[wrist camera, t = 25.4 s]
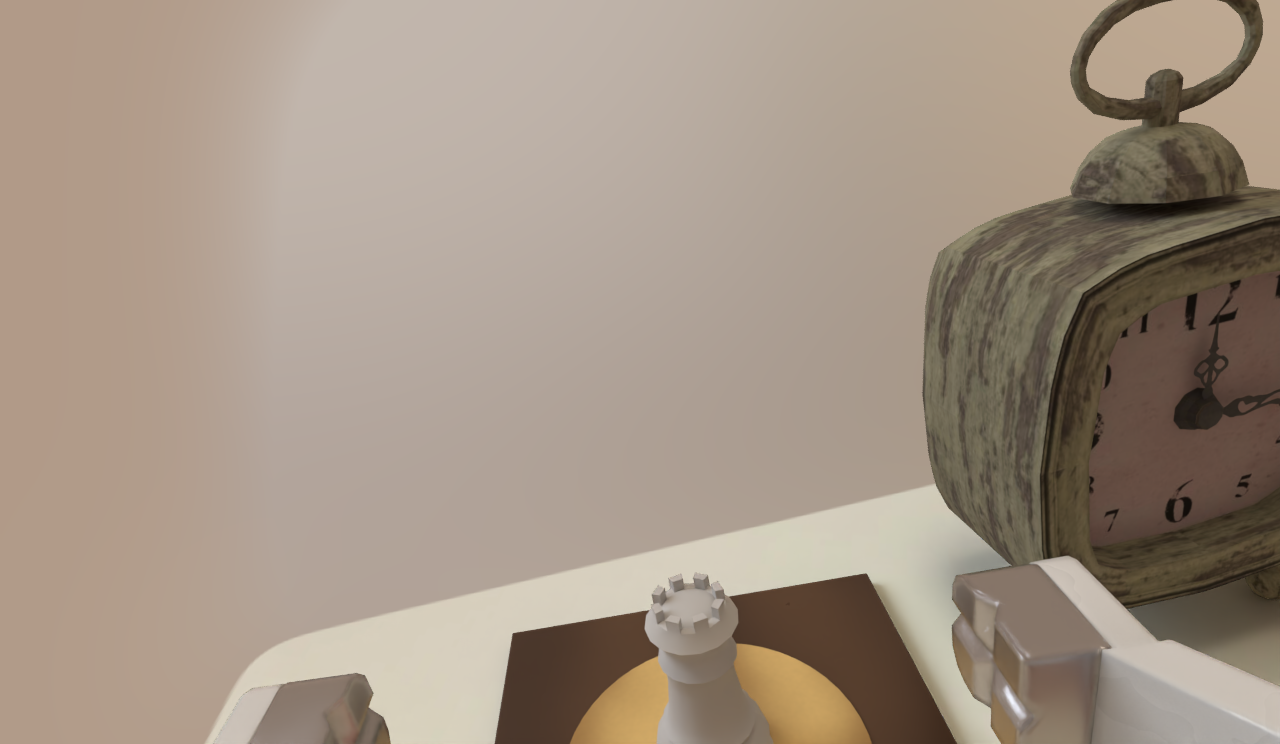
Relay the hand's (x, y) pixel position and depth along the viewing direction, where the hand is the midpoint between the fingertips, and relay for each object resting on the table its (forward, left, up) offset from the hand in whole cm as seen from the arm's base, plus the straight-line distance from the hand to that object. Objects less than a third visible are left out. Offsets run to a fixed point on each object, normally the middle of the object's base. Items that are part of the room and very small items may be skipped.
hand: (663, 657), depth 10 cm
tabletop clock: (+19, +18, -18) cm, 32 cm away
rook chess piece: (0, +12, -17) cm, 21 cm away
